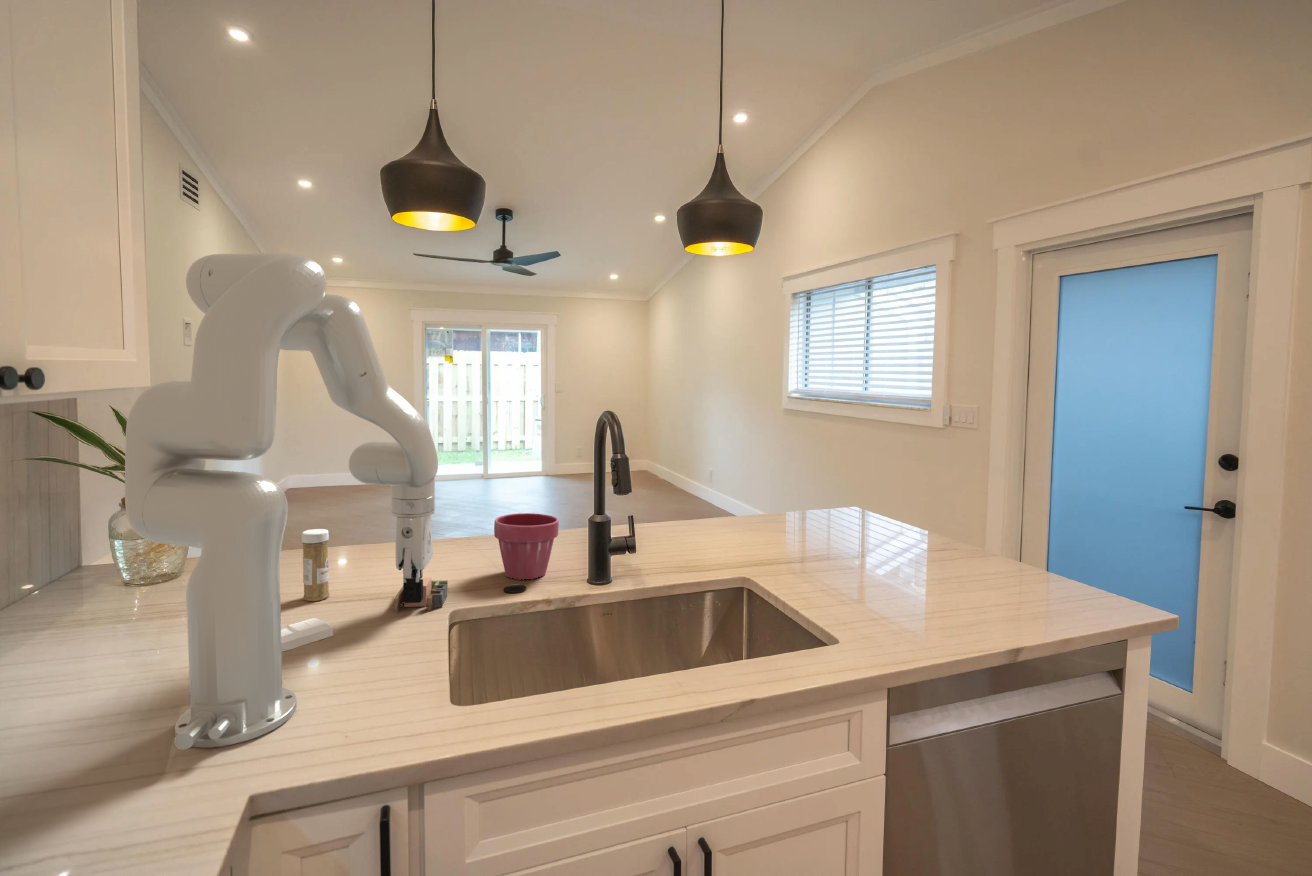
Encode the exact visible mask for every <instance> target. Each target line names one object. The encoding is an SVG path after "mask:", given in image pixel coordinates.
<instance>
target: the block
mask: <svg viewBox="0 0 1312 876" xmlns="http://www.w3.org/2000/svg"><path fill="white" fill-rule="evenodd" d="M422 579H423V599H422V601H421V602H420V603H404V602H403V604H404V605H403V606H404V607H406V608H411V607H413V608H414V607H416V608H417V607H427V604H428V596H429V594H432V593H431V590H432V577H422Z"/></svg>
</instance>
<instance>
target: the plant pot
mask: <svg viewBox="0 0 1312 876" xmlns="http://www.w3.org/2000/svg"><path fill="white" fill-rule="evenodd" d="M493 527H494V528H493V533H494V534H493V536H494V537H495V539H497V540H498V545H499V550H500V555H501V559H502V564H503V569H504V573H505V576H506V577H507V576H508V577H507V578H509V577H510V579H512V578H513V579H512V580H521V579H522V580H521V581H523V580H524V579H531V580H535V579H534V578H537V579H539V578H538V577H540V578H542V577H541V576H543V577H544V576H545V575H546V574H547V571H548V567H549V562H550V558H551V555H552V550H553V545H554V541H555V538H557V537H558V535H559V518H557V517H556V516H553V515H549V514H545V513H544V514H543V513H535V512H533V513H532V512H529V513H527V512H525V513H524V512H523V513H522V512H521V513H520V512H518V513H511V514H510V513H509V514H504V515H501V516H498V517H496V518H495V519H494V526H493ZM545 573H546V574H545ZM524 581H525V580H524Z"/></svg>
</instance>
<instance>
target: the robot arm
mask: <svg viewBox="0 0 1312 876" xmlns="http://www.w3.org/2000/svg"><path fill="white" fill-rule="evenodd" d="M327 284H328V283H327V277H326V273H325V270H324V269H323V268H322V267H321V265H320V264H318V262H316V261H315V260H313V259H312V258H309V257H307V256H304V255H302V254H301V255H300V254H296V253H287V252H286V253H285V252H254V253H214V254H210V255H205V256H202V257H199V258H198V259H197V260H195V261H194V262H193V263H192V264H191V265H190V267H189V269H188V270H187V273H186V277H185V285H186V290H187V293H188V295H189V297H190V299H191V301H192V302H193V304H194V305H195V306H196V307H197V308H198V309H199V310H200V311H201V312H202V313H203V314H204V316H203V317H202V319H201V321H200V324H199V326H198V328H197V330H196V333H195V337H194V344H193V355H192V366H191V376H190V381H189V380H188V381H187V380H172V381H171V380H170V381H166V382H165V381H164V382H160V383H158V384H154V385H153V386H151V387H148V388H147V389H146V390H145V391H143V392H142V393H140V395H139V396H138V397H137V398H136V400H135V401H134V403H133V404H132V406H131V408H130V411H129V413H128V416H127V419H126V426H125V427H126V428H125V448H124V449H125V458H124V461H125V462H124V504H125V513H126V518H127V520H128V523H129V525H130V527H131V528H132V530H133V531H134V532H135V533H136V534H137V535H138V536H139V537H141V538H143V539H145V540H147V541H149V542H152V543H157V544H163V545H171V546H178V547H179V546H180V547H189V548H190V547H191V548H196V549H200V550H201V551H200V556H199V559H198V560H197V562H196V564H195V566H194V568H193V569H192V571H191V573H190V575H189V578H188V581H187V585H186V593H185V598H186V599H185V600H186V604H185V605H186V606H185V607H186V622H187V625H186V626H187V644H188V645H187V647H188V648H187V649H188V651H187V652H188V675H189V676H188V677H189V679H188V680H189V703H190V705H189V706H190V708H189V709H187V710H186V711H185V712H184V713H182V715H180V717H179V718H178V719H177V721H176V722H175V725H174V737H175V738H174V743H173V744H174V746H175V747H176V748H177V749H179V750H188V749H190V748H191V747H192V748H199V749H200V748H209V749H210V748H216V747H217V748H219V747H226V746H232V745H235V744H239V743H243V742H244V743H245V742H247V741H250V740H253V739H256V738H258V737H261V736H263V735H265V734H267V733H269V732H271V731H273V730H275V729H277V728H278V727H280V726H281V725H283V724H285V722H287V721H288V720H289V719H290V718H291V717H292V716H293V714H294V713H295V711H296V709H297V697H296V694H295V693H294V692H293V691H292V690H289V689H288V688H285V687H283V671H282V670H283V666H282V665H283V664H282V652H281V627H282V625H281V624H282V623H281V621H282V615H281V614H282V612H281V611H282V610H281V608H282V607H281V582H280V581H281V575H280V574H281V556H282V555H281V553H282V545H283V540H284V534H285V530H286V525H287V522H288V514H289V503H288V498H287V497H286V494H285V492H284V490H283V489H282V488H281V487H280V485H278V484H277V483H276V482H275V481H274V480H272V479H270V478H268V477H265V476H262V475H261V474H257V473H252V472H245V471H235V470H234V471H231V470H221V469H220V470H219V469H217V470H216V469H209V470H208V469H206V460H216V461H217V460H219V461H248V460H249V461H250V460H254V459H257V458H259V457H261V456H263V455H265V454H266V453H268V451H269V450H270V448H271V447H272V445H273V442H274V439H275V434H276V425H277V424H276V423H277V400H278V399H277V397H278V396H277V395H278V391H277V390H278V367H279V366H278V365H279V355H280V351H281V350H283V351H297V352H299V351H300V352H302V351H303V352H304V351H306V352H310V354H312V357H313V359H314V362H315V363H316V366H317V369H318V371H319V374H320V375H321V376H320V377H321V378H322V381H323V383H324V387H325V388H326V390H327V393H328V395H329V397H330V400H331V401H332V402H333V404H335V405H336V406H338V407H339V408H341V409H342V410H344V411H346V412H348V413H349V414H352V415H354V416H356V417H358V418H360V419H363V420H365V421H366V422H367V421H368V422H369V423H371V424H373V425H375V426H378V427H379V428H380V429H382V430H384V431H385V432H386V433H388V434H389V435H390V436H391V437H392V438H393V439H394V440H395V441H367V442H364V443H362V444H360V445H358V446H357V447H356V448H355V449H353V451H352V452H351V454H350V456H349V459H348V469H349V472H350V474H351V476H352V477H353V478H354V480H355V479H356V481H358V482H360V483H363V484H366V485H374V486H385V487H386V486H388V487H389V486H390V515H391V516H393V517H395V518H396V524H395V568H396V569H397V570H398V571H401V570H402V575H403V576H402V577H403V578H402V579H403V581H402V582H403V583H402V586H403V604H404V603H420V602H421V601H422V599H423V579H422V578H424V575H423V574H424V572H423V571H424V570H425V569H426V567H427V566H428V564H429V563H430V562H431V560H432V558H433V554H434V553H433V529H432V528H433V527H432V526H433V525H432V515H433V514H435V500H436V499H435V497H436V496H435V494H436V493H435V490H436V488H435V487H436V486H435V483H436V482H435V480H436V479H435V478H436V476H437V473H438V469H439V468H438V467H439V459H438V452H437V448H436V445H435V442H434V440H433V436H432V432H431V430H430V428H429V426H428V423H427V422H426V420H425V419H424V417H423V416H422V415H421V414H420V412H418V410H416V408H415V407H414V406H413V405H412V404H410V402H409V401H408V400H406V399H405V397H403V396H402V395H401V394H400V393H399V392H397V391H396V390H395V389H394V388H392V387H391V386H390V385H389V384H388V381H387V380H386V377H385V374H384V371H383V369H382V368H383V367H382V366H381V363H380V360H379V357H378V354H377V351H376V347H375V346H374V343H373V342H374V341H373V339H372V336H371V333H370V331H369V328H368V326H367V323H366V320H365V317H364V314H363V312H362V310H361V308H360V307H359V305H358V304H357V303H356V302H354V300H352V299H350V298H348V297H346V296H343V295H337V294H328V293H327V294H326V291H327Z"/></svg>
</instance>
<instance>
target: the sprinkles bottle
mask: <svg viewBox="0 0 1312 876" xmlns="http://www.w3.org/2000/svg"><path fill="white" fill-rule="evenodd" d="M329 539H330V536H329V530H328V529H325V528H314V529H307V530H304V531H302V532H301V542H302V555H303V557H302V576H303V580H302V582H303V600H304V601H307V602H319V601H321V600H325V599H327V598H329V597H330V591H329V590H330V589H329V587H330V586H329V580H330V579H329V577H330V575H329V570H330V569H329V546H328V545H329V544H328V543H329Z"/></svg>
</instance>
